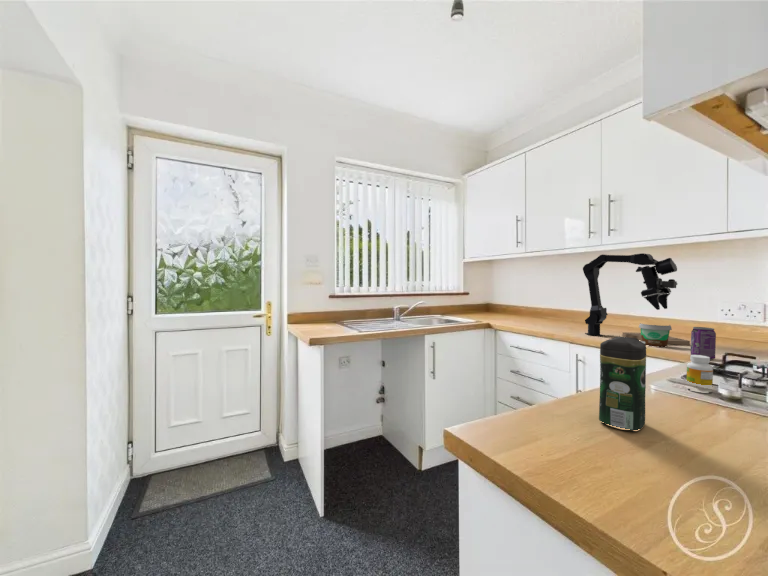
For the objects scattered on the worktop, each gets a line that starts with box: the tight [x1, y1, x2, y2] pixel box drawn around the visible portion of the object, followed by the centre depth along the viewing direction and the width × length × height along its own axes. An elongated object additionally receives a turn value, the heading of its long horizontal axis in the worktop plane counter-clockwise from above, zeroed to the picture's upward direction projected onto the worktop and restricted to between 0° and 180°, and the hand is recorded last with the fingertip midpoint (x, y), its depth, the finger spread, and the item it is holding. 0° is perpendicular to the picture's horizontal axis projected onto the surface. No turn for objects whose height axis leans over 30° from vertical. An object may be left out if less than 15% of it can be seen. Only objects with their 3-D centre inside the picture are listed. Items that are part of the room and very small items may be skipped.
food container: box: [638, 323, 672, 348], centre depth 159 cm, size 12×6×10 cm, turn 62°
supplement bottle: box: [686, 354, 714, 385], centre depth 95 cm, size 5×5×10 cm
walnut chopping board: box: [621, 331, 691, 346], centre depth 174 cm, size 24×16×2 cm, turn 176°
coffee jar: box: [598, 336, 647, 430], centre depth 73 cm, size 10×8×19 cm
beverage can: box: [690, 326, 717, 361], centre depth 135 cm, size 7×7×12 cm
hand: (662, 309), depth 164 cm, fingers open, 9 cm apart
